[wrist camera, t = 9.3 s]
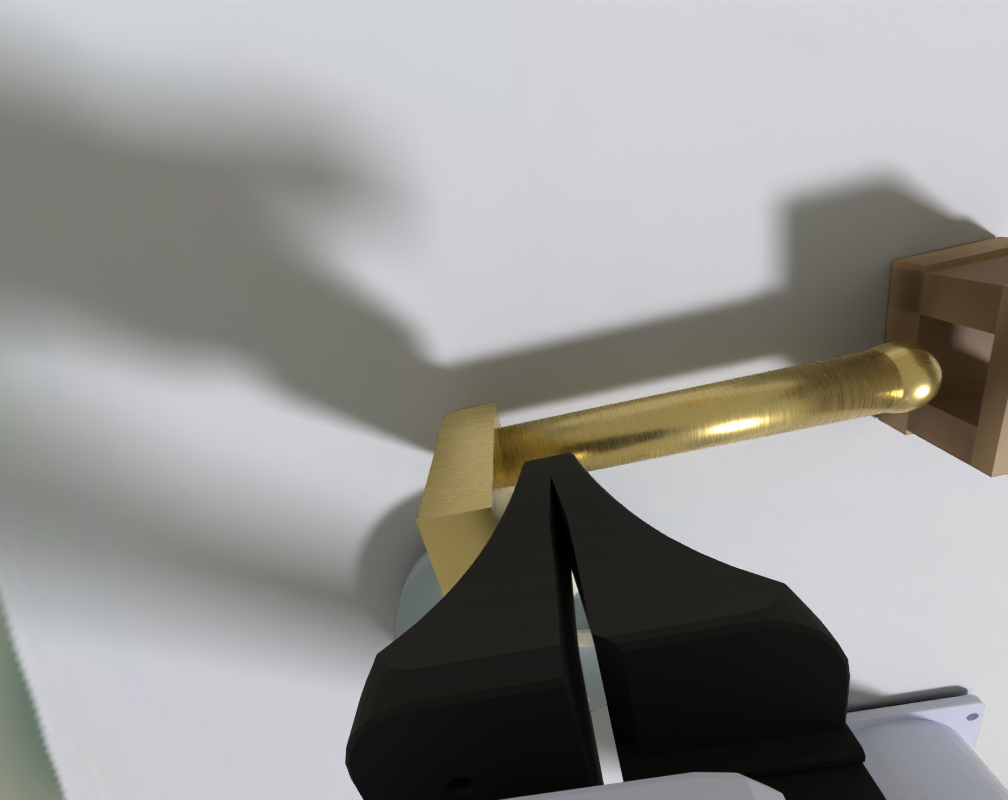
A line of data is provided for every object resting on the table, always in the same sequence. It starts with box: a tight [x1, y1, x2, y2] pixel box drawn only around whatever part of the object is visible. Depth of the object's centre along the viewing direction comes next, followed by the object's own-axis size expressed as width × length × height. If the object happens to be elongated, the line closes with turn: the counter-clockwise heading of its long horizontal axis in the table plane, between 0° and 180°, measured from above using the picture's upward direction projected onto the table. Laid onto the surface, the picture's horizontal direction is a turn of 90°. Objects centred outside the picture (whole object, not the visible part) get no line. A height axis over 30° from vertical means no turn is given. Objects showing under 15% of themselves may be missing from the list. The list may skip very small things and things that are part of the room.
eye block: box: [878, 237, 1008, 477], centre depth 13 cm, size 5×3×4 cm, turn 13°
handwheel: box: [394, 550, 607, 712], centre depth 16 cm, size 10×10×5 cm
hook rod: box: [416, 342, 942, 596], centre depth 12 cm, size 3×14×5 cm, turn 103°
